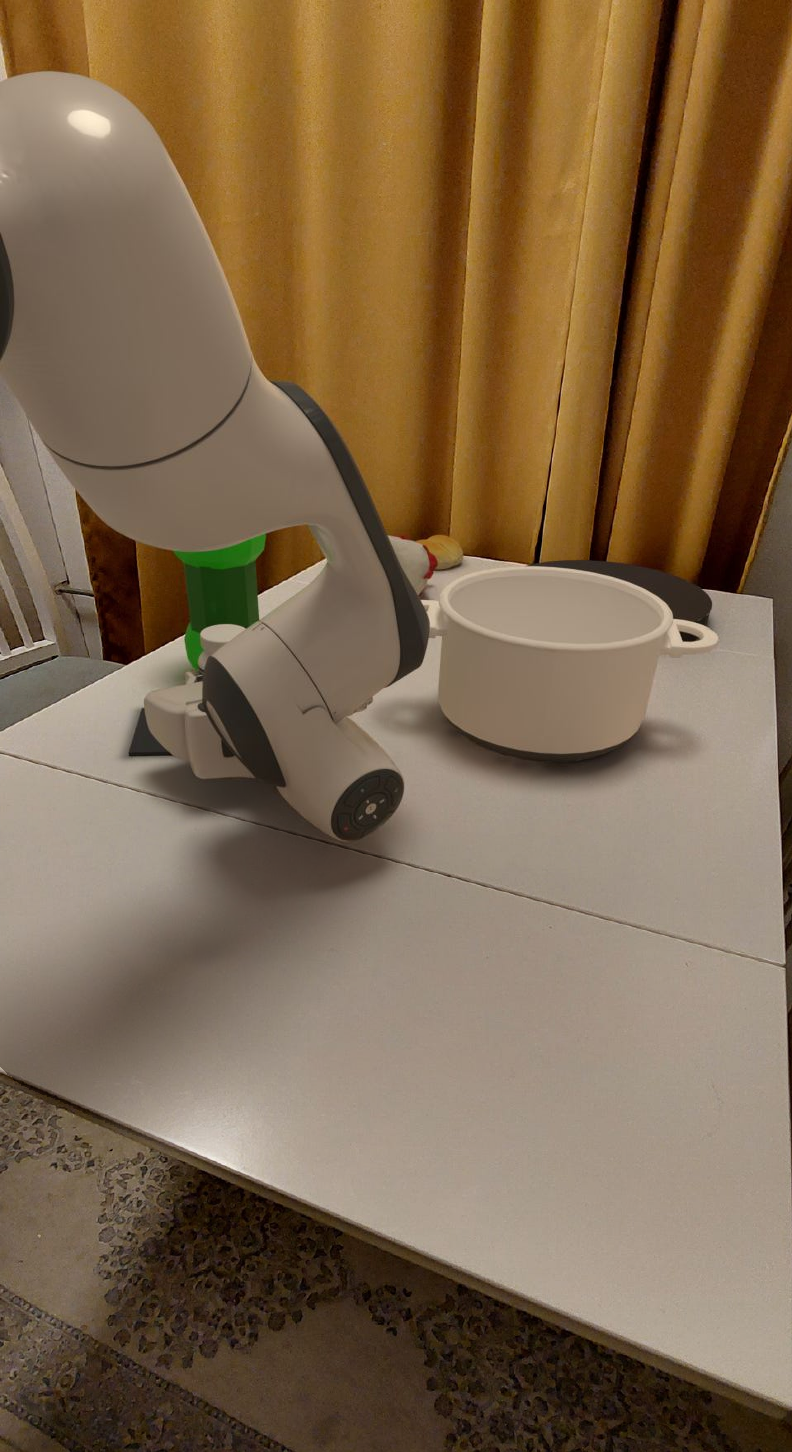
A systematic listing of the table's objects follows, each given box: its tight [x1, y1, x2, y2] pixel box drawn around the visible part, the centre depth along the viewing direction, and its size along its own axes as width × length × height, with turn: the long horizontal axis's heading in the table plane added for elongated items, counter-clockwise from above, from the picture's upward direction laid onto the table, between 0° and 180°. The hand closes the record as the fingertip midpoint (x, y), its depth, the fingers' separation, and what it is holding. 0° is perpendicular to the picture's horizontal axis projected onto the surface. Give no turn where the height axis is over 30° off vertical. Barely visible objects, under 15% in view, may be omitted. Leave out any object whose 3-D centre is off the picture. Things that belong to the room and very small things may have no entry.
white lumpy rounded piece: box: [387, 534, 438, 597], centre depth 121 cm, size 9×11×15 cm
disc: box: [526, 559, 713, 642], centre depth 121 cm, size 30×30×3 cm
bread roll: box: [415, 534, 464, 571], centre depth 136 cm, size 8×9×4 cm
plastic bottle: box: [172, 533, 267, 671], centre depth 92 cm, size 10×10×25 cm
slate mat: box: [128, 707, 173, 757], centre depth 88 cm, size 20×10×1 cm, turn 96°
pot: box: [420, 565, 719, 763], centre depth 88 cm, size 33×23×14 cm
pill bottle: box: [198, 624, 245, 673], centre depth 85 cm, size 6×6×10 cm
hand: (224, 671), depth 85 cm, fingers closed on pill bottle, 6 cm apart
